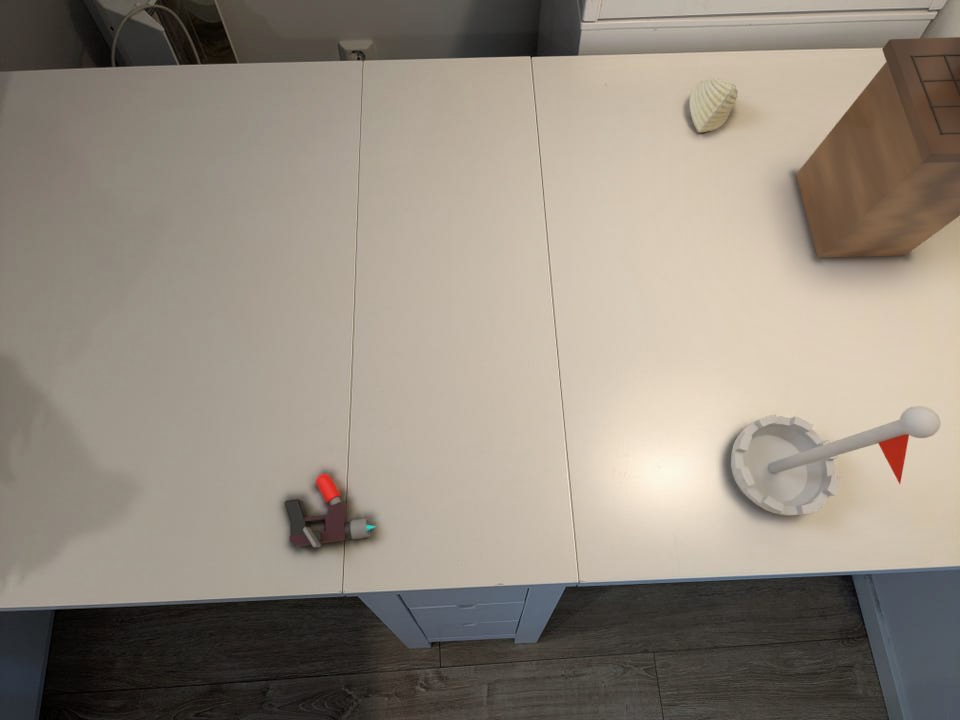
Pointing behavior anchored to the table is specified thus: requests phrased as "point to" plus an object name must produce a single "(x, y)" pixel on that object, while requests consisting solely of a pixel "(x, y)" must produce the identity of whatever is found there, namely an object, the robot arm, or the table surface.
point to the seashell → (711, 103)
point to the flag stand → (812, 458)
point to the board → (890, 157)
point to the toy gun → (334, 520)
